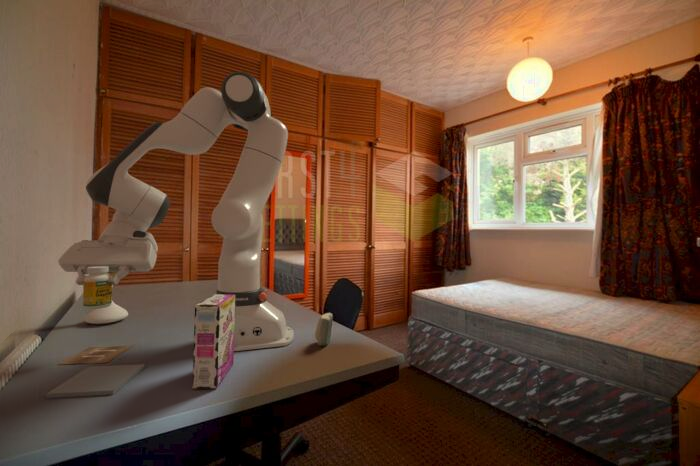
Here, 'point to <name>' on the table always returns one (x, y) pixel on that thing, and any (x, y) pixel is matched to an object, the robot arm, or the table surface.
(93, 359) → the tile
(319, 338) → the beige upright rounded block
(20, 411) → the table surface
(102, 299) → the supplement bottle
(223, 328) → the candy bar box
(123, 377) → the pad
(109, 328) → the table surface
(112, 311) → the flower in vase
